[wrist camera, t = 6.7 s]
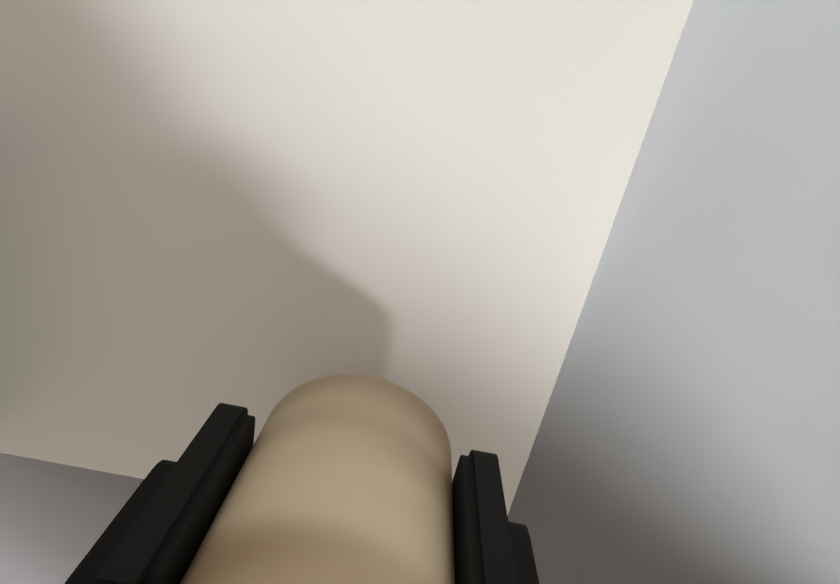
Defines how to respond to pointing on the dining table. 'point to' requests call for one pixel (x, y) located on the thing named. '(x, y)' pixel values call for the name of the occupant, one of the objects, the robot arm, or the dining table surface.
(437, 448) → the roller
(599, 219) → the gate frame
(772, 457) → the dining table surface
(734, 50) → the dining table surface
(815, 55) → the dining table surface
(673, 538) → the dining table surface
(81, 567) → the robot arm
